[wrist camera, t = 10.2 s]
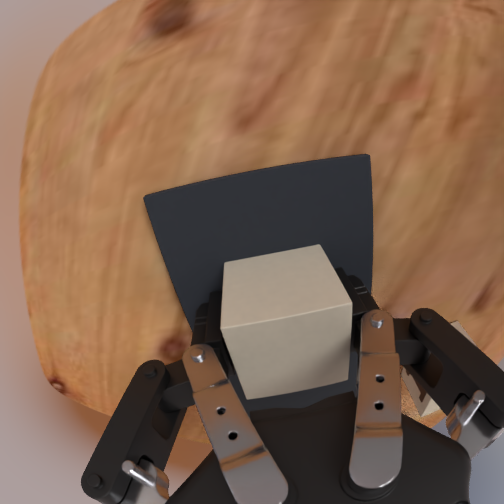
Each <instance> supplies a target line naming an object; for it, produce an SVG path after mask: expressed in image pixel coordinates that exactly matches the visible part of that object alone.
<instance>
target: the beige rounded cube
mask: <svg viewBox="0 0 504 504" xmlns="http://www.w3.org/2000/svg"><path fill="white" fill-rule="evenodd" d="M220 329H221V332H222V335H223V337H224V340H225V343H226V346H227V349H228V351H229V354H230V357H231V359H232V362H233V365H234V368H235V370H236V373H237V375H238V378H239V381H240V383H241V386H242V388H243V391H244V394H245V396H246V399H255V398H262V397H269V396H275V395H281V394H286V393H292V392H297V391H302V390H307V389H312V388H316V387H321V386H325V385H330V384H334V383H338V382H342V381H346V380H348V372H349V360H350V346H351V329H352V301H351V299H350V297H349V296H348V294H347V292H346V290H345V288H344V286H343V284H342V283H341V281H340V279H339V277H338V275H337V274H336V272H335V270H334V268H333V266H332V265H331V263H330V261H329V259H328V258H327V256H326V254H325V252H324V251H323V249H322V247H321V245H320V244H318V245H313V246H308V247H303V248H298V249H292V250H287V251H282V252H277V253H272V254H266V255H261V256H256V257H251V258H245V259H240V260H235V261H229V262H225V263H224V274H223V290H222V308H221V326H220Z"/></svg>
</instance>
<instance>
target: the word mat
mask: <svg viewBox="0 0 504 504" xmlns="http://www.w3.org/2000/svg"><path fill="white" fill-rule="evenodd" d="M143 199H144V202H145V205H146V208H147V212H148V215H149V218H150V221H151V224H152V227H153V230H154V233H155V236H156V239H157V242H158V244H159V247H160V250H161V253H162V256H163V259H164V261H165V264H166V267H167V269H168V272H169V275H170V278H171V280H172V283H173V285H174V288H175V291H176V293H177V296H178V298H179V301H180V303H181V306H182V308H183V311H184V313H185V315H186V318H187V320H188V323H189V325H190V327H191V330H192V332H193V330H194V326H195V325H194V323H195V320H196V319H195V317H196V311H197V309H198V308H199V306H200V305H201V304H202V303H208V302H209V295H210V292H213V291H218V290H223V274H224V263H225V262H229V261H235V260H240V259H245V258H251V257H256V256H261V255H266V254H272V253H277V252H282V251H287V250H292V249H298V248H303V247H308V246H313V245H318V244H320V245H321V247H322V249H323V251H324V252H325V254H326V256H327V258H328V259H329V261H330V263H331V265H332V266H333V268H339V267H342V268H343V270H344V272H345V273H346V275H347V276H349V275H355V276H356V277H358V278H359V279H361V280H362V282H363V284H364V285H365V287H366V288H367V290H368V292H369V293H370V294H371V287H372V265H373V199H372V177H371V162H370V155H368V154H360V155H351V156H343V157H335V158H327V159H320V160H313V161H306V162H300V163H293V164H287V165H281V166H275V167H270V168H264V169H258V170H253V171H248V172H243V173H238V174H233V175H228V176H223V177H218V178H214V179H209V180H205V181H200V182H196V183H192V184H188V185H183V186H179V187H175V188H171V189H167V190H163V191H159V192H156V193H152V194H148V195H145V196H144V197H143ZM357 361H358V354H357V352H352V353H350V360H349V372H348V380H346V381H342V382H338V383H334V384H330V385H325V386H321V387H316V388H312V389H307V390H302V391H297V392H292V393H286V394H281V395H275V396H269V397H262V398H255V399H246V396H245V394H244V391H243V388H242V386H241V383H240V381H239V378H238V375H237V373H236V370H235V375H233V376H228V379H229V381H230V383H231V384H232V386H233V388H234V390H235V392H236V394H237V396H238V398H239V400H240V402H241V404H242V405H243V407H244V409H245V411H246V413H247V415H248V417H249V418H250V411H255V410H262V409H269V408H305V407H307V406H310V405H312V404H314V403H316V402H319V401H321V400H323V399H325V398H327V397H330V396H334V395H338V394H342V393H346V392H350V391H353V392H354V395H355V388H356V376H357Z"/></svg>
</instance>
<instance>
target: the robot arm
mask: <svg viewBox="0 0 504 504" xmlns="http://www.w3.org/2000/svg"><path fill="white" fill-rule="evenodd" d="M334 270H335V272H336V274H337V275H338V277H339V279H340V281H341V283H342V284H343V286H344V288H345V290H346V292H347V294H348V296H349V297H350V299H351V301H352V329H351V346H350V353H352V352H357V354H358V361H357V376H356V388H355V395H354V392H353V391H350V392H346V393H342V394H338V395H334V396H330V397H327V398H325V399H323V400H321V401H319V402H316V403H314V404H312V405H310V406H307V407H305V408H269V409H262V410H255V411H250V418H249V417H248V415H247V413H246V411H245V409H244V407H243V405H242V404H241V402H240V400H239V398H238V396H237V394H236V392H235V390H234V388H233V386H232V384H231V383H230V381H229V379H228V376H233V375H235V368H234V365H233V362H232V359H231V357H230V354H229V351H228V349H227V346H226V343H225V340H224V337H223V335H222V332H221V329H220V326H221V308H222V290H218V291H213V292H210V295H209V302H208V303H202V304H201V305H200V306H199V308H198V309H197V311H196V317H195V319H196V320H195V323H194V325H195V326H194V330H193V336H192V343H191V347H189V348H188V349H187V350H186V351H185V352H184V354H183V356H182V359H181V360H179V361H177V362H174V363H171V364H168V365H166V366H165V365H164V363H163V362H161V361H159V360H150V361H147V362H145V363H143V364H142V365H141V366H140V367H139V368H138V369H137V371H136V373H135V375H134V377H133V378H132V380H131V382H130V384H129V386H128V388H127V389H126V391H125V393H124V395H123V397H122V399H121V400H120V402H119V404H118V406H117V408H116V410H115V412H114V414H113V416H112V417H111V419H110V421H109V423H108V425H107V427H106V429H105V431H104V433H103V435H102V437H101V439H100V441H99V443H98V445H97V447H96V449H95V451H94V453H93V455H92V457H91V459H90V461H89V463H88V465H87V467H86V469H85V471H84V473H83V476H82V478H81V486H82V488H83V491H84V492H85V493H86V494H87V495H88V496H89V497H91V498H93V499H95V500H98V501H99V502H101V503H102V504H470V501H469V481H470V474H471V460H472V459H473V458H474V457H475V456H476V455H477V454H478V453H479V452H480V451H481V450H482V449H484V448H487V447H488V446H489V445H491V443H493V442H494V441H495V440H496V439H497V438H498V437H499V436H500V435H501V434H502V433H503V432H504V372H503V371H502V370H501V369H500V368H499V367H498V366H497V365H496V364H495V363H494V362H493V361H492V360H491V359H490V358H489V357H488V356H486V355H485V354H484V353H483V352H482V351H481V350H480V349H479V348H478V347H476V346H475V345H474V344H473V343H472V342H471V341H470V340H469V339H467V338H466V337H465V336H464V335H463V334H462V333H460V332H459V331H458V330H457V329H456V328H455V327H453V326H452V325H451V324H450V323H449V322H448V321H446V320H445V319H444V318H443V317H442V316H440V315H439V314H438V313H437V312H435V311H434V310H432V309H428V308H420V309H417V310H415V311H414V312H413V313H412V315H411V318H403V319H396V318H392V316H391V315H390V314H389V313H388V312H386V311H384V310H380V309H379V307H378V305H377V304H376V302H375V301H374V299H373V297H372V296H371V294H370V293H369V292H368V290H367V288H366V287H365V285H364V284H363V282H362V280H361V279H359V278H358V277H356V276H355V275H349V276H347V275H346V273H345V272H344V270H343V268H342V267H339V268H334ZM400 365H403V367H404V368H405V369H406V370H407V371H408V372H409V373H410V375H411V376H412V377H413V378H414V379H415V380H416V381H417V382H418V383H419V385H420V386H421V387H422V388H423V389H424V390H425V391H426V393H427V394H428V395H429V396H430V397H431V398H432V399H433V400H434V402H435V403H436V404H437V405H438V406H439V407H440V409H441V410H442V411H443V412H444V413H445V414H446V415H447V419H446V427H447V429H448V433H449V435H450V436H451V438H449V437H446V436H445V435H442V434H441V433H439V432H436V431H435V430H433V429H431V428H429V427H427V426H425V425H423V424H421V423H419V422H417V421H415V420H414V419H412V418H410V417H408V416H406V415H404V414H402V413H401V379H400ZM194 404H196V406H197V409H198V412H199V414H200V417H201V420H202V422H203V425H204V427H205V430H206V432H207V435H208V437H209V440H210V442H211V444H212V447H213V450H212V451H211V452H210V453H209V455H208V456H207V457H206V458H205V459H204V460H203V461H202V463H201V464H200V465H199V466H198V467H197V468H196V469H195V471H194V472H193V473H192V474H191V475H190V476H189V477H188V478H187V479H186V481H185V482H184V483H183V484H182V485H181V486H180V487H179V488H178V489H177V491H175V492H174V494H173V495H172V496H171V497H169V494H168V488H169V479H168V477H167V475H166V474H165V473H164V472H163V471H164V469H165V466H166V463H167V461H168V458H169V455H170V452H171V450H172V447H173V445H174V442H175V439H176V437H177V434H178V431H179V429H180V426H181V424H182V421H183V418H184V416H185V413H186V410H187V407H189V406H191V405H194Z"/></svg>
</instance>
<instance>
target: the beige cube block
mask: <svg viewBox="0 0 504 504" xmlns="http://www.w3.org/2000/svg"><path fill="white" fill-rule="evenodd" d="M451 325H452V326H453V327H455V328H456V329H457V330H458V331H459V332H460V333H462V334H463V335H464V336H465V337H466V338H467V339H469V340H470V341H471V342H472V343H473V344H474V345H475V346H476V347H477V345H476V344H475V343H474V341H473V340H472V339H471V337H470V336H469V335H468V334H467V332H466V331H465V330H464V328H463V327H462V326H461V325H460V323H459V322H458V321H456V322H453V323H451ZM401 376H402V378H403V380H404V382H405V385H406V387H407V389H408V391H409V393H410V395H411V397H412V399H413V401H414V403H415V406H416V408H417V410H418V412H419V414H420V416H421V417H423V416H425V415H428V414H430V413H432V412H434V411H437V410H439V409H440V407H439V406H438V405H437V404H436V403H435V402H434V400H433V399H432V398H431V397H430V396H429V395H428V394H427V393H426V391H425V390H424V389H423V388H422V387H421V386H420V385H419V383H418V382H417V381H416V380H415V379H414V378H413V377H412V376H411V375H410V373H409V372H408V371H407V370H406V369H405V368H404V367H403V369H402V373H401Z"/></svg>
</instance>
